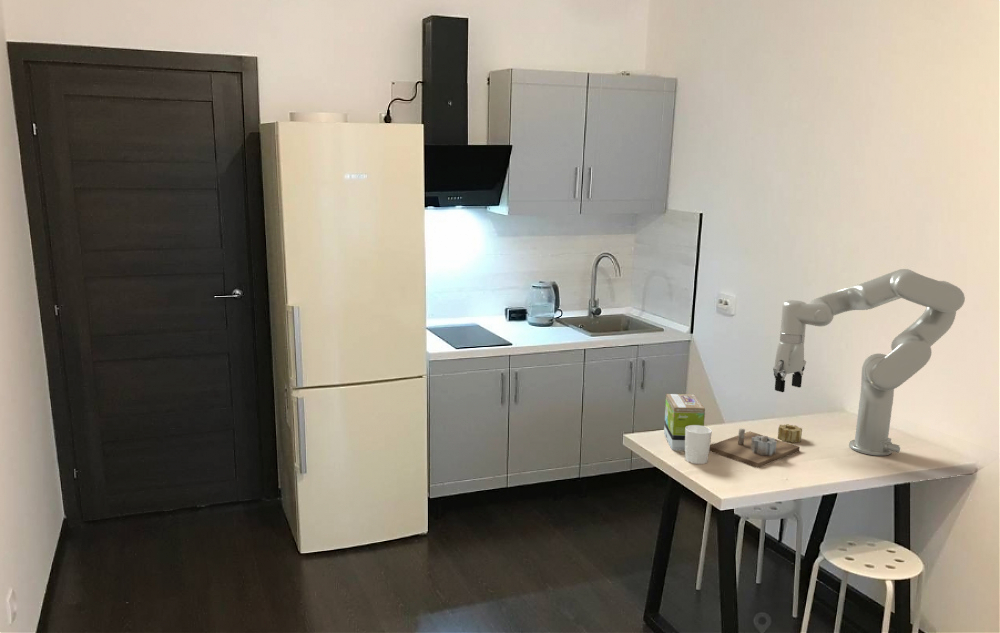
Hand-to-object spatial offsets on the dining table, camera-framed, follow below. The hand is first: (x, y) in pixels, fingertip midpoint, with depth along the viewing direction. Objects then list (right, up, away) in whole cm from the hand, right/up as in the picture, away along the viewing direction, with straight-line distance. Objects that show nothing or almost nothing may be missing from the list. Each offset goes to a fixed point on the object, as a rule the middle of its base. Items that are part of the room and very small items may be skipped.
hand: (787, 388), depth 250 cm
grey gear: (-13, -18, -13) cm, 26 cm away
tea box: (-36, -18, -3) cm, 40 cm away
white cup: (-35, -20, -18) cm, 44 cm away
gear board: (-14, -19, -9) cm, 25 cm away
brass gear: (+2, -17, +3) cm, 18 cm away
